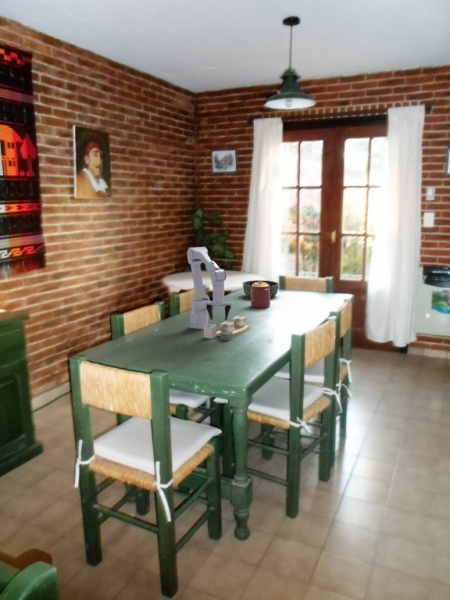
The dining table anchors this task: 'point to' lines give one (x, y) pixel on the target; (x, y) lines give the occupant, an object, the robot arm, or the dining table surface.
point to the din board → (234, 326)
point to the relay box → (226, 336)
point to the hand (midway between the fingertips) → (218, 319)
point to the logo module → (210, 331)
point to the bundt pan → (272, 285)
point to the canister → (260, 295)
